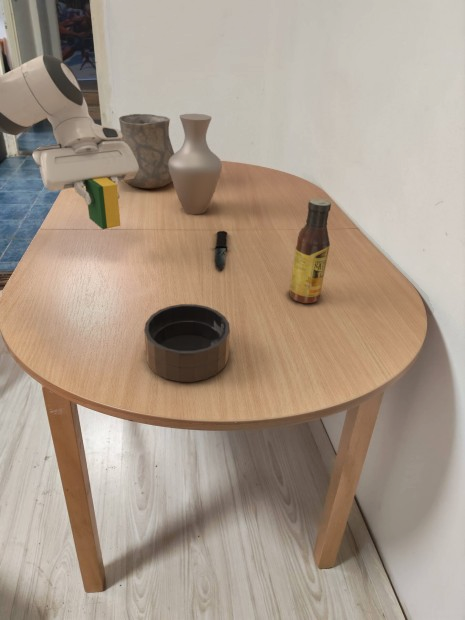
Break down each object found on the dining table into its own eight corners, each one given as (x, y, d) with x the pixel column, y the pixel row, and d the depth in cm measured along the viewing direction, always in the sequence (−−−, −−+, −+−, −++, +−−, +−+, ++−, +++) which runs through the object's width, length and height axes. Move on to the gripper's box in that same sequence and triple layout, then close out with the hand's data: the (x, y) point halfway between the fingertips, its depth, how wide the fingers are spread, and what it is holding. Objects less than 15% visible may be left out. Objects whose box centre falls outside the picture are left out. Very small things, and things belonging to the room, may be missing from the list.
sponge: (102, 229, 95) (98, 187, 90) (89, 218, 99) (84, 177, 94) (120, 225, 97) (117, 184, 92) (106, 215, 101) (102, 175, 96)
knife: (216, 230, 115) (228, 230, 115) (216, 235, 115) (228, 235, 115) (212, 268, 97) (226, 268, 97) (212, 274, 98) (226, 274, 98)
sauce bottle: (313, 308, 88) (330, 211, 77) (283, 299, 91) (296, 203, 80) (324, 294, 93) (341, 200, 82) (296, 285, 96) (309, 193, 85)
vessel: (96, 184, 143) (88, 117, 132) (146, 170, 159) (143, 108, 148) (146, 200, 133) (142, 129, 122) (194, 183, 149) (194, 118, 138)
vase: (202, 223, 121) (203, 124, 107) (159, 211, 126) (155, 116, 113) (229, 208, 132) (234, 116, 118) (188, 197, 137) (188, 108, 124)
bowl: (176, 396, 66) (175, 365, 63) (131, 350, 75) (129, 320, 71) (244, 362, 74) (246, 332, 70) (197, 324, 82) (197, 296, 79)
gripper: (30, 138, 88) (56, 202, 87) (127, 129, 99) (151, 186, 98) (27, 156, 93) (52, 216, 92) (119, 146, 104) (142, 200, 103)
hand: (103, 201), depth 95 cm, fingers closed on sponge, 4 cm apart
